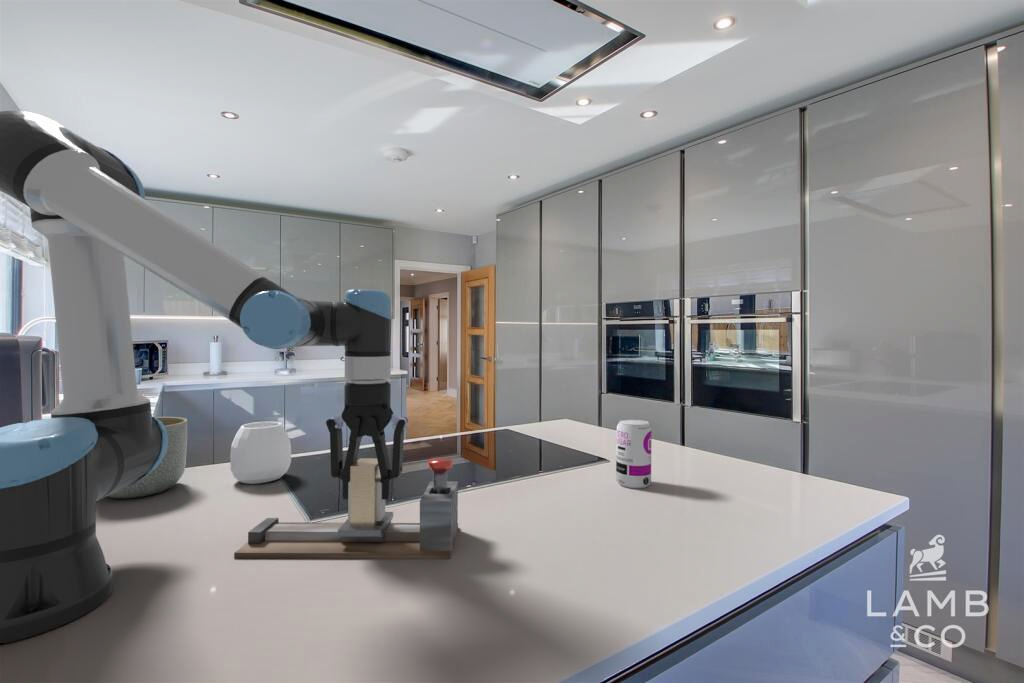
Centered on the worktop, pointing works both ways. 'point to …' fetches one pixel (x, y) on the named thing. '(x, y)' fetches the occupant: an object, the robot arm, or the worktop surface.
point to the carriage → (364, 505)
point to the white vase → (260, 452)
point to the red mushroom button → (440, 473)
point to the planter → (163, 463)
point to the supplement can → (633, 453)
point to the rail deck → (399, 542)
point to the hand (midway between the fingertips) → (366, 517)
